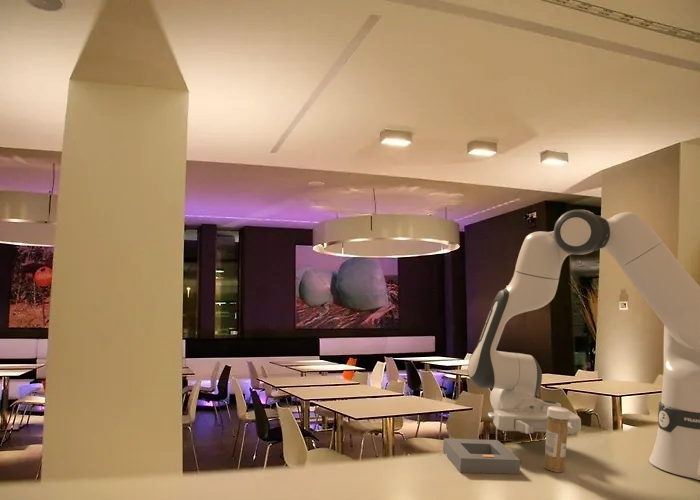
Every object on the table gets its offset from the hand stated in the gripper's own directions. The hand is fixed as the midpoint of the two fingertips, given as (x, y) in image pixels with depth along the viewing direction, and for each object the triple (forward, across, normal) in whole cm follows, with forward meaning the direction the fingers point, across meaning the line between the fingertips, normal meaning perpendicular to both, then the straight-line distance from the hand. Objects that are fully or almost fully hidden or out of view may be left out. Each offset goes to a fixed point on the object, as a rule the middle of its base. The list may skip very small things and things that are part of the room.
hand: (550, 431), depth 135 cm
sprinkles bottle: (+3, 0, +8) cm, 8 cm away
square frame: (0, -16, +7) cm, 18 cm away
